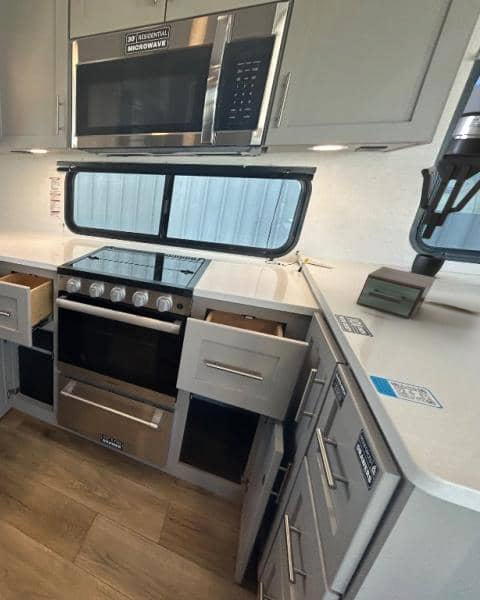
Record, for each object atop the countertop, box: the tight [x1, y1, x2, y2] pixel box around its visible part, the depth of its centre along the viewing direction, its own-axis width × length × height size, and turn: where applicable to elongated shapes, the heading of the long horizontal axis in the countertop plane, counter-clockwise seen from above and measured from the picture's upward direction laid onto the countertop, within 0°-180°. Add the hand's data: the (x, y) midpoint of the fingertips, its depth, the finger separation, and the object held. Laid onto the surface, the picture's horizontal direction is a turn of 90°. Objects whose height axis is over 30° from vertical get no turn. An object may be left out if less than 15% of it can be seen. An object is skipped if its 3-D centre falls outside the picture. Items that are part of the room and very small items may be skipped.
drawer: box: [359, 278, 421, 316], centre depth 98 cm, size 21×11×8 cm, turn 128°
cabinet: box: [355, 266, 437, 320], centre depth 100 cm, size 17×13×10 cm
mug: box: [410, 253, 447, 278], centre depth 130 cm, size 8×12×10 cm
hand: (425, 238), depth 86 cm, fingers closed
